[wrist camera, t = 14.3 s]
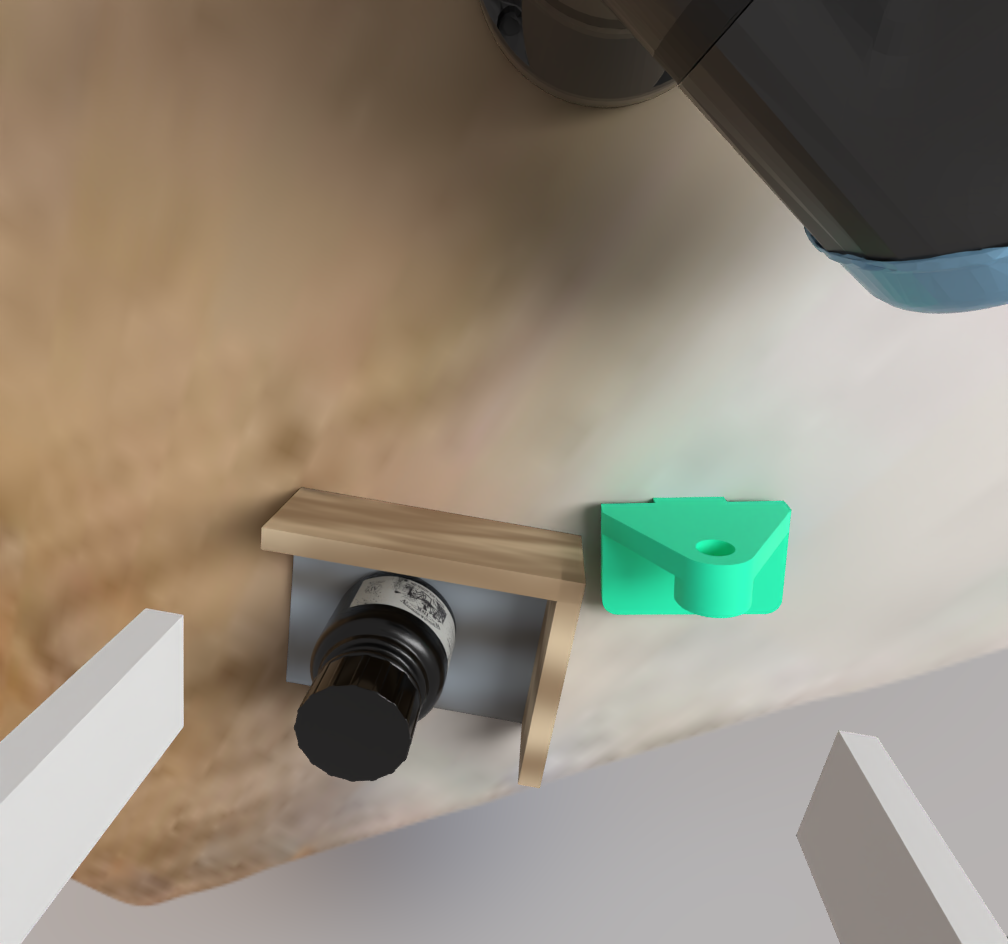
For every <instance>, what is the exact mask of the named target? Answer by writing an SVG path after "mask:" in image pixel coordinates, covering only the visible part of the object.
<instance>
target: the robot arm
mask: <svg viewBox="0 0 1008 944" xmlns="http://www.w3.org/2000/svg"><path fill="white" fill-rule="evenodd" d="M479 2H480V5H481V8H482V11H483V14H484V17H485V19H486V22H487V24H488V26H489V28H490V31H491V33H492V35H493V36H494V38H495V40H496V42H497V43H498V45H499V47H500V48H501V50H502V51H503V53H504V54H505V55H506V57H507V58H508V59H509V60H510V62H511V63H512V64H513V65H514V66H515V67H516V68H517V69H518V70H519V71H520V72H521V73H522V74H523V75H524V76H525V77H526V78H527V79H528V80H530V81H531V82H532V83H534V84H535V85H536V86H538V87H539V88H541V89H542V90H544V91H546V92H547V93H549V94H551V95H553V96H555V97H557V98H560V99H563V100H565V101H568V102H571V103H575V104H579V105H584V106H590V107H605V108H606V107H620V106H627V105H632V104H636V103H639V102H643V101H646V100H649V99H651V98H654V97H656V96H658V95H660V94H663V93H665V92H666V91H668V90H670V89H672V88H673V87H675V86H677V85H679V84H680V83H681V82H682V83H681V84H680V85H679V86H678V87H679V88H680V89H681V90H682V91H683V92H684V94H685V95H686V96H687V97H688V98H689V99H690V100H691V101H692V102H693V104H694V105H695V106H696V107H697V108H698V109H699V110H700V111H701V112H702V113H703V115H704V116H705V117H706V118H707V119H708V120H709V121H710V122H711V123H712V125H713V126H714V127H715V128H716V129H717V130H718V131H719V132H720V133H721V135H722V136H723V137H724V138H725V139H726V140H727V141H728V142H729V143H730V144H731V146H732V147H733V148H734V149H735V150H736V151H737V152H738V153H739V154H740V156H741V157H742V158H743V159H744V160H745V161H746V162H747V163H748V164H749V165H750V167H751V168H752V169H753V170H754V171H755V172H756V173H757V174H758V175H759V177H760V178H761V179H762V180H763V181H764V182H765V183H766V184H767V185H768V187H769V188H770V189H771V190H772V191H773V192H774V193H775V194H776V195H777V196H778V198H779V199H780V200H781V201H782V202H783V203H784V204H785V205H786V206H787V208H788V209H789V210H790V211H791V212H792V213H793V214H794V215H795V216H796V217H797V219H798V220H799V221H800V222H801V223H802V224H803V225H804V229H805V232H806V234H807V236H808V238H809V240H810V241H811V243H812V244H813V245H814V246H815V248H816V249H818V250H819V251H820V252H823V253H825V254H826V256H827V257H828V258H829V259H832V260H834V261H836V262H838V263H840V264H841V265H842V266H843V267H844V268H845V269H846V270H847V271H848V272H849V273H850V274H851V275H852V276H853V277H854V278H855V279H856V280H857V281H858V282H859V283H860V284H861V285H862V286H863V287H864V288H865V289H866V290H867V291H868V292H869V293H871V294H872V295H873V296H875V297H876V298H878V299H880V300H882V301H884V302H886V303H888V304H890V305H892V306H894V307H897V308H900V309H904V310H908V311H914V312H922V313H938V314H940V313H959V312H968V311H976V310H981V309H986V308H991V307H996V306H1001V305H1005V304H1008V0H479ZM183 727H184V695H183V615H181V614H175V613H170V612H164V611H158V610H152V609H147V608H145V609H144V610H143V611H142V612H141V613H140V614H139V615H138V616H137V617H136V618H134V619H133V620H132V621H131V622H130V623H129V624H128V625H127V626H126V627H125V628H124V629H122V630H121V631H120V632H119V633H118V634H117V635H116V636H115V637H114V638H113V639H112V640H111V641H109V642H108V643H107V644H106V645H105V646H104V647H103V648H102V649H101V650H100V651H99V652H97V653H96V654H95V655H94V656H93V657H92V658H91V659H90V660H89V661H88V662H87V663H86V664H84V665H83V666H82V667H81V668H80V669H79V670H78V671H77V672H76V673H75V674H74V675H72V676H71V677H70V678H69V679H68V680H67V681H66V682H65V683H64V684H63V685H62V686H60V687H59V688H58V689H57V690H56V691H55V692H54V693H53V694H52V695H51V696H50V697H49V698H47V699H46V700H45V701H44V702H43V703H42V704H41V705H40V706H39V707H38V708H37V709H35V710H34V711H33V712H32V713H31V714H30V715H29V716H28V717H27V718H26V719H25V720H24V721H22V722H21V723H20V724H19V725H18V726H17V727H16V728H15V729H14V730H13V731H12V732H10V733H9V734H8V735H7V736H6V737H5V738H4V739H3V740H2V741H1V742H0V944H21V943H22V942H23V940H24V939H25V937H26V936H27V935H28V933H29V932H30V931H31V930H32V928H33V927H34V925H35V924H36V923H37V921H38V920H39V919H40V917H41V916H42V915H43V914H44V912H45V911H46V910H47V908H48V907H49V906H50V904H51V903H52V901H53V900H54V899H55V897H56V896H57V895H58V893H59V892H60V891H61V889H62V888H63V887H64V885H65V884H66V883H67V881H68V880H69V879H70V877H71V876H72V875H73V873H74V872H75V871H76V869H77V868H78V867H79V865H80V864H81V863H82V861H83V860H84V859H85V857H86V856H87V855H88V853H89V852H90V851H91V849H92V848H93V847H94V845H95V844H96V843H97V841H98V840H99V839H100V837H101V836H102V835H103V833H104V832H105V831H106V829H107V828H108V827H109V825H110V824H111V823H112V821H113V820H114V819H115V817H116V816H117V815H118V813H119V812H120V811H121V809H122V808H123V807H124V805H125V804H126V803H127V801H128V800H129V799H130V797H131V796H132V795H133V793H134V792H135V791H136V789H137V788H138V787H139V785H140V784H141V783H142V781H143V780H144V779H145V777H146V776H147V775H148V773H149V772H150V771H151V769H152V768H153V767H154V765H155V764H156V763H157V761H158V760H159V759H160V757H161V756H162V755H163V753H164V752H165V751H166V749H167V748H168V747H169V745H170V744H171V743H172V741H173V740H174V739H175V737H176V736H177V735H178V733H179V732H180V731H181V729H182V728H183ZM796 836H797V839H798V841H799V843H800V846H801V848H802V851H803V853H804V855H805V858H806V861H807V863H808V865H809V868H810V870H811V873H812V875H813V878H814V880H815V883H816V885H817V888H818V890H819V893H820V895H821V898H822V900H823V903H824V905H825V907H826V910H827V912H828V915H829V917H830V920H831V922H832V925H833V927H834V930H835V932H836V934H837V937H838V939H839V942H840V944H1008V937H1007V936H1006V935H1005V934H1004V932H1003V931H1002V929H1001V928H1000V926H999V925H998V923H997V922H996V920H995V918H994V917H993V915H992V914H991V912H990V911H989V909H988V908H987V906H986V904H985V903H984V901H983V900H982V898H981V897H980V895H979V894H978V892H977V891H976V889H975V888H974V886H973V884H972V883H971V881H970V880H969V878H968V877H967V875H966V874H965V872H964V871H963V869H962V867H961V866H960V864H959V863H958V861H957V860H956V858H955V857H954V855H953V853H952V852H951V850H950V849H949V847H948V846H947V844H946V843H945V841H944V840H943V838H942V837H941V835H940V833H939V832H938V830H937V829H936V827H935V826H934V824H933V823H932V821H931V819H930V818H929V816H928V815H927V813H926V812H925V810H924V809H923V807H922V806H921V804H920V802H919V801H918V799H917V798H916V796H915V795H914V793H913V792H912V790H911V789H910V787H909V785H908V784H907V782H906V781H905V779H904V778H903V776H902V775H901V773H900V772H899V770H898V769H897V767H896V765H895V764H894V762H893V761H892V759H891V758H890V756H889V755H888V753H887V752H886V750H885V748H884V747H883V745H882V744H881V742H880V741H879V739H878V738H877V737H874V736H868V735H862V734H857V733H851V732H846V731H840V730H839V731H838V733H837V735H836V738H835V740H834V743H833V746H832V748H831V750H830V753H829V755H828V758H827V760H826V763H825V765H824V768H823V770H822V773H821V775H820V778H819V780H818V783H817V785H816V787H815V790H814V792H813V795H812V798H811V800H810V803H809V805H808V807H807V810H806V812H805V815H804V817H803V820H802V822H801V825H800V828H799V830H798V832H797V835H796Z"/></svg>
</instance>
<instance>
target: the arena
mask: <svg viewBox="0 0 1008 944" xmlns="http://www.w3.org/2000/svg"><path fill="white" fill-rule="evenodd" d="M261 550H267V551H272V552H278V553H284V554H290V555H294V560H293V576H292V593H291V610H290V626H289V643H288V659H287V676H286V681H287V682H292V683H298V684H304V685H309V686H311V684H312V680H311V675H310V660H311V655H312V652H313V649H314V646H315V644H316V642H317V640H318V638H319V637H320V635H321V633H322V631H323V630H324V628H325V626H326V624H327V623H328V621H329V619H330V618H331V616H332V614H333V612H334V611H335V609H336V607H337V605H338V604H339V602H340V600H341V599H342V597H343V596H344V594H345V593H346V592H347V591H348V590H349V589H350V588H351V587H352V586H353V585H354V584H355V583H357V582H358V581H360V580H361V579H363V578H365V577H367V576H369V575H372V574H375V573H379V572H385V571H387V572H392V573H398V574H404V575H410V576H415V577H418V578H420V579H422V580H424V581H426V582H427V583H429V584H430V585H432V586H433V587H434V588H435V589H436V590H437V591H439V592H440V594H441V595H442V596H443V597H444V598H445V599H446V601H447V602H448V604H449V606H450V607H451V609H452V612H453V614H454V617H455V622H456V637H455V643H454V648H453V652H452V656H451V660H450V664H449V668H448V673H447V677H446V681H445V684H444V688H443V691H442V693H441V696H440V698H439V700H438V701H437V703H436V704H435V706H434V708H439V709H445V710H451V711H456V712H462V713H468V714H473V715H479V716H485V717H490V718H496V719H502V720H507V721H513V722H519V723H522V729H521V745H520V761H519V778H518V784H519V785H525V786H530V787H536V788H540V785H541V780H542V776H543V771H544V767H545V762H546V758H547V754H548V749H549V745H550V740H551V736H552V732H553V727H554V723H555V718H556V714H557V709H558V705H559V701H560V696H561V692H562V687H563V683H564V679H565V674H566V670H567V665H568V661H569V656H570V652H571V648H572V643H573V639H574V634H575V630H576V626H577V621H578V617H579V612H580V608H581V603H582V599H583V595H584V590H585V586H586V580H585V570H584V560H583V549H582V539H581V536H579V535H574V534H568V533H562V532H556V531H551V530H545V529H539V528H533V527H528V526H522V525H516V524H510V523H505V522H499V521H493V520H487V519H481V518H476V517H470V516H464V515H458V514H453V513H447V512H441V511H435V510H430V509H424V508H418V507H412V506H407V505H401V504H395V503H389V502H384V501H378V500H372V499H366V498H361V497H355V496H349V495H343V494H338V493H332V492H326V491H320V490H315V489H309V488H303V487H301V488H300V489H299V490H298V491H297V492H296V493H295V494H294V495H293V496H292V497H291V498H290V499H289V500H288V501H287V502H286V504H285V505H284V506H283V507H282V508H281V509H280V510H279V511H278V512H277V513H276V514H275V515H274V516H273V517H272V518H271V519H270V520H269V521H268V522H267V523H266V524H265V525H264V526H263V527H262V532H261Z"/></svg>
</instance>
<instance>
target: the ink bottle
mask: <svg viewBox="0 0 1008 944" xmlns="http://www.w3.org/2000/svg"><path fill="white" fill-rule="evenodd" d="M455 637H456V622H455V617H454V614H453V612H452V609H451V607H450V606H449V604H448V602H447V601H446V599H445V598H444V597H443V596H442V595H441V594H440V592H439V591H437V590H436V589H435V588H434V587H433V586H432V585H430V584H429V583H427V582H426V581H424V580H422V579H420V578H418V577H415V576H410V575H404V574H398V573H392V572H387V571H385V572H379V573H375V574H372V575H369V576H367V577H365V578H363V579H361V580H360V581H358V582H357V583H355V584H354V585H353V586H352V587H351V588H350V589H349V590H348V591H347V592H346V593H345V594H344V596H343V597H342V599H341V600H340V602H339V604H338V605H337V607H336V609H335V611H334V612H333V614H332V616H331V618H330V619H329V621H328V623H327V624H326V626H325V628H324V630H323V631H322V633H321V635H320V637H319V638H318V640H317V642H316V644H315V646H314V649H313V652H312V655H311V660H310V675H311V680H312V684H311V686H310V688H309V690H308V692H307V694H306V696H305V698H304V699H303V701H302V703H301V705H300V707H299V709H298V711H297V712H298V714H297V718H296V723H295V725H294V730H295V732H296V736H297V740H298V746H299V748H300V749H302V751H303V752H304V754H305V755H306V756H307V757H308V759H309V761H310V762H311V763H312V764H313V765H316V766H317V767H319V768H320V769H322V770H323V771H325V772H326V773H327V774H328V775H330V776H335V777H339V778H342V779H346V780H349V781H352V782H355V781H369V780H370V781H374V780H377V779H378V778H381V777H383V776H386V775H388V774H392V773H393V772H394V771H395V769H397V768H398V767H399V766H400V764H401V763H402V762H403V761H405V760H406V758H407V755H408V752H409V748H410V745H411V742H412V739H413V735H414V731H415V728H416V724H417V722H418V721H419V720H421V719H422V718H423V717H425V716H426V715H427V714H428V713H429V712H430V711H431V710H432V708H433V707H434V706H435V704H436V703H437V701H438V700H439V698H440V696H441V693H442V691H443V688H444V684H445V681H446V677H447V673H448V668H449V664H450V660H451V656H452V652H453V648H454V643H455Z"/></svg>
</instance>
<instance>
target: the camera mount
mask: <svg viewBox="0 0 1008 944" xmlns="http://www.w3.org/2000/svg"><path fill="white" fill-rule="evenodd" d="M790 517H791V509H790V508H789V506H788V505H787V504H786V503H785V502H784V501H744V502H727V501H726V500H725V498H724V497H683V498H653V503H619V504H601V596H602V603H603V606H604V608H605V609H606V610H607V611H608V612H610V613H612V614H617V615H636V614H697V615H701V616H705V617H711V618H729V617H735V616H738V615H741V614H769V613H772V612H774V611H775V610H777V609H778V608H779V606H780V605H781V603H782V596H783V586H784V576H785V567H786V557H787V547H788V537H789V527H790Z"/></svg>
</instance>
